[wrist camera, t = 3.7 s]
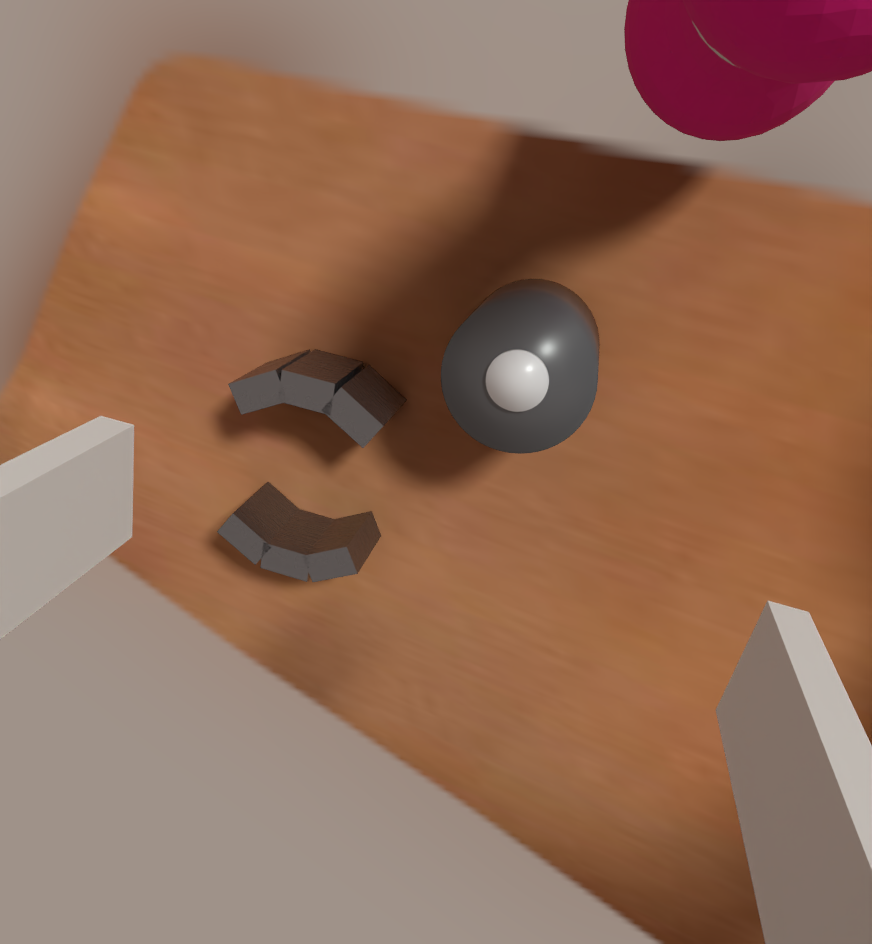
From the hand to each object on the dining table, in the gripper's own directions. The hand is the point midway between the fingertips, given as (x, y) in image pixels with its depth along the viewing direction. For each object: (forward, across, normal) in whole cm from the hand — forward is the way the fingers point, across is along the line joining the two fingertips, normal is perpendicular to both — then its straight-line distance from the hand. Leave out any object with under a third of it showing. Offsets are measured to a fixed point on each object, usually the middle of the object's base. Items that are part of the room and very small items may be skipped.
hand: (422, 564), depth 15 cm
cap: (+20, 0, 0) cm, 20 cm away
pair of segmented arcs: (+20, -8, -8) cm, 23 cm away
